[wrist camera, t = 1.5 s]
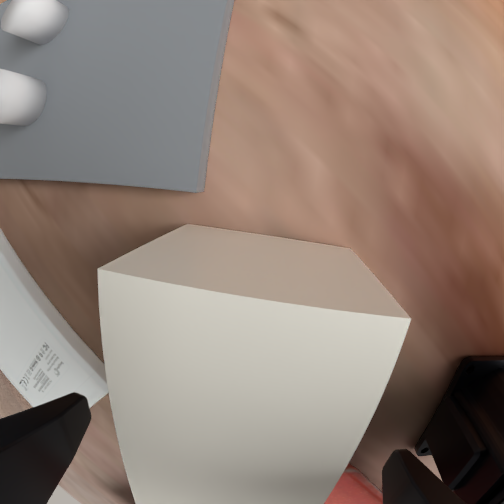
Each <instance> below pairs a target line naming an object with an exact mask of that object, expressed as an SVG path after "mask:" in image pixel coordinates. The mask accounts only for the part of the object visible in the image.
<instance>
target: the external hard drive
mask: <svg viewBox="0 0 504 504" xmlns="http://www.w3.org/2000/svg"><path fill="white" fill-rule="evenodd" d="M0 369H1V371H2V372H3V373H4V375H5V376H6V377H7V378H8V379H9V381H10V382H11V383H12V384H13V385H14V387H15V388H16V389H17V390H18V391H19V392H20V393H21V395H22V396H23V397H24V398H25V399H26V400H27V401H28V402H29V403H30V404H31V406H32V407H36V406H38V405H41V404H44V403H46V402H49V401H52V400H54V399H57V398H60V397H62V396H65V395H67V394H70V393H73V392H76V393H79V394H81V395H84V396H85V397H86V398H87V400H88V404H89V408H90V407H92V406H93V405H94V404H95V403H96V402H98V401H99V400H100V399H101V398H103V397H104V396H105V395H106V394H108V393H109V392H108V385H107V379H106V372H105V364H104V363H103V362H102V361H101V360H100V359H99V358H98V357H97V356H96V354H95V353H94V352H93V351H92V350H91V349H90V348H89V347H88V346H87V345H86V344H85V343H84V341H83V340H82V339H81V338H80V337H79V336H78V335H77V333H76V332H75V331H74V330H73V329H72V328H71V326H70V325H69V324H68V323H67V322H66V320H65V319H64V318H63V317H62V316H61V314H60V313H59V312H58V311H57V309H56V308H55V307H54V306H53V304H52V303H51V302H50V300H49V299H48V298H47V297H46V295H45V294H44V293H43V291H42V290H41V289H40V287H39V286H38V284H37V283H36V282H35V280H34V279H33V278H32V276H31V275H30V273H29V272H28V271H27V269H26V268H25V266H24V265H23V263H22V262H21V260H20V259H19V257H18V256H17V254H16V253H15V251H14V250H13V248H12V246H11V245H10V243H9V242H8V240H7V238H6V237H5V235H4V233H3V232H2V230H1V228H0Z"/></svg>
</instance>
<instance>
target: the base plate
mask: <svg viewBox="0 0 504 504" xmlns="http://www.w3.org/2000/svg"><path fill="white" fill-rule="evenodd" d="M233 4H234V0H7V1H5V2H3V3H1V4H0V179H30V180H52V181H70V182H86V183H100V184H113V185H125V186H136V187H147V188H157V189H167V190H177V191H186V192H195V193H197V192H203V191H204V187H205V178H206V170H207V162H208V154H209V147H210V139H211V132H212V125H213V118H214V112H215V105H216V99H217V92H218V86H219V80H220V74H221V68H222V62H223V57H224V51H225V45H226V40H227V35H228V29H229V24H230V19H231V14H232V9H233Z"/></svg>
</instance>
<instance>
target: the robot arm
mask: <svg viewBox="0 0 504 504" xmlns="http://www.w3.org/2000/svg"><path fill="white" fill-rule="evenodd" d="M469 366H470V367H469ZM468 367H469V368H468ZM467 368H468V369H467ZM90 421H91V413H90V409H89V404H88V400H87V398H86V397H85V396H84V395H81V394H79V393H76V392H73V393H70V394H67V395H65V396H62V397H60V398H57V399H54V400H52V401H49V402H46V403H44V404H41V405H38V406H36V407H33V408H30V409H27V410H24V411H22V412H19V413H16V414H13V415H10V416H7V417H4V418H1V419H0V504H47V502H48V500H49V498H50V497H51V495H52V493H53V492H54V490H55V488H56V487H57V485H58V483H59V482H60V480H61V478H62V477H63V475H64V473H65V472H66V470H67V468H68V467H69V465H70V463H71V462H72V460H73V458H74V456H75V454H76V452H77V450H78V447H79V445H80V443H81V441H82V438H83V436H84V434H85V432H86V430H87V428H88V425H89V423H90ZM415 451H416V454H417V455H418V456H426V455H432V456H433V458H434V461H435V463H436V466H437V468H438V471H439V473H440V476H441V478H442V481H443V482H442V481H441V480H440V479H439V478H438V477H437V476H436V475H435V474H434V473H433V472H431V471H430V470H429V469H428V468H427V467H426V466H425V465H424V464H423V463H422V462H421V461H420V460H419V459H418V458H417V457H415V456H414V455H413V454H412V453H411V452H410V451H409V450H407V449H400V450H395V451H393V453H392V454H391V456H390V457H389V459H388V460H387V462H386V463H385V465H384V467H383V470H382V489H383V504H504V356H488V357H467V358H465V359H464V360H463V361H462V362H461V364H460V365H459V367H458V370H457V372H456V374H455V376H454V378H453V380H452V382H451V384H450V386H449V388H448V390H447V392H446V394H445V396H444V398H443V400H442V402H441V404H440V406H439V408H438V409H437V411H436V413H435V415H434V417H433V418H432V420H431V422H430V424H429V425H428V427H427V429H426V430H425V432H424V434H423V435H422V437H421V439H420V440H419V442H418V443H417V445H416V447H415Z"/></svg>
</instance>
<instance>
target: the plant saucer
mask: <svg viewBox="0 0 504 504" xmlns="http://www.w3.org/2000/svg"><path fill="white" fill-rule="evenodd" d="M324 504H383V492H382V491H381V490H380V489H379V488H377V487H376V486H375V485H374V484H373V483H372V482H371V481H370V480H369V479H368V478H367V477H366V476H364V475H363V474H362V473H361V472H360V471H359V470H358V469H357V468H355V467H353V466H352V465H350V464H349V463H348V465H347V467H346V468H345V470H344V472H343V474H342V475H341V477H340V479H339V480H338V482H337V484H336V485H335V487H334V488H333V490H332V492H331V493H330V495H329V496H328V498H327V500H326V501H325V503H324Z"/></svg>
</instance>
